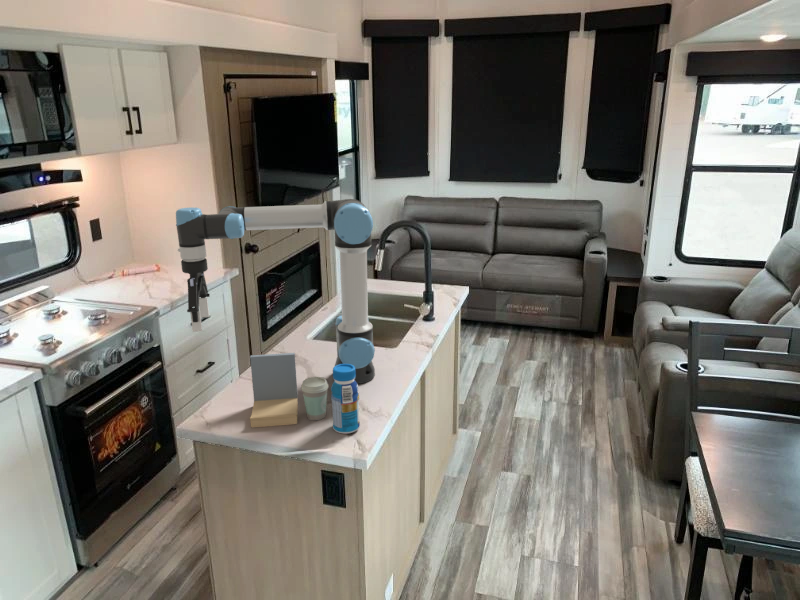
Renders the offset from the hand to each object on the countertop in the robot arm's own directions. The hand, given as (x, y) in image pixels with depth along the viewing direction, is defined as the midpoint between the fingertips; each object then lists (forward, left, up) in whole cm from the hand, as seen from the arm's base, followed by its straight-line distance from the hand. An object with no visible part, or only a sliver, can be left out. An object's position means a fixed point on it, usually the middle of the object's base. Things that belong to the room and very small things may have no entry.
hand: (201, 323), depth 187 cm
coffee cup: (-35, +14, -29) cm, 47 cm away
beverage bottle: (-44, +23, -29) cm, 57 cm away
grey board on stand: (-22, +4, -28) cm, 36 cm away
